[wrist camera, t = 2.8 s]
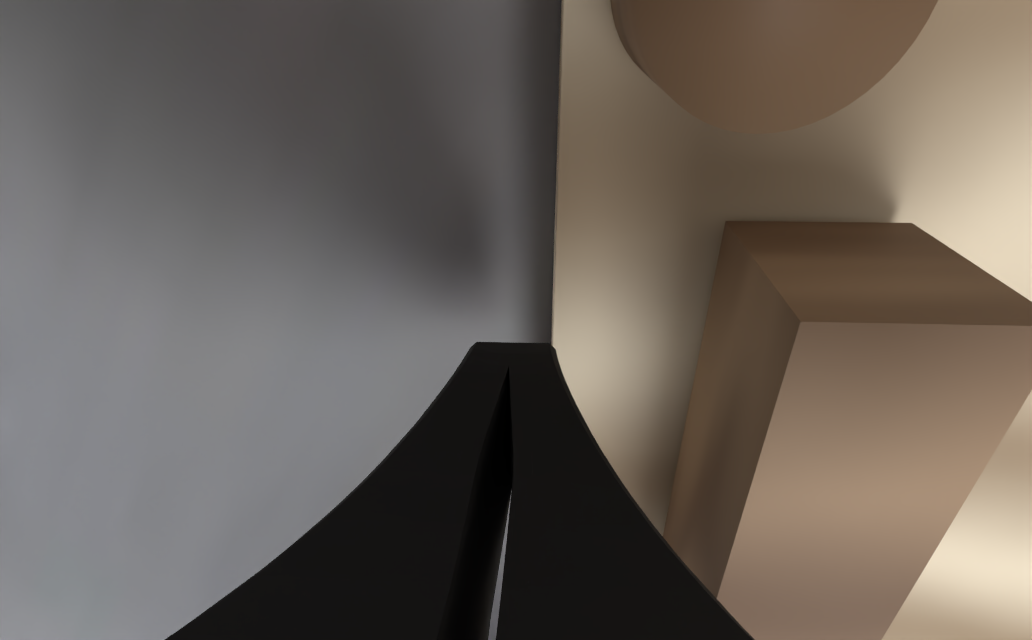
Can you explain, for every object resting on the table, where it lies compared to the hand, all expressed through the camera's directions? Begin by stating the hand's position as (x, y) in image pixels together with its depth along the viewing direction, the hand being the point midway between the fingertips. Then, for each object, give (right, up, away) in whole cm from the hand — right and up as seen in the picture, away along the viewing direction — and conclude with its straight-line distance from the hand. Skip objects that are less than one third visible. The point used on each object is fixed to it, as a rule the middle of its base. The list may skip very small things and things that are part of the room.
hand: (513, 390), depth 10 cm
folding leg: (+5, -2, +2) cm, 6 cm away
